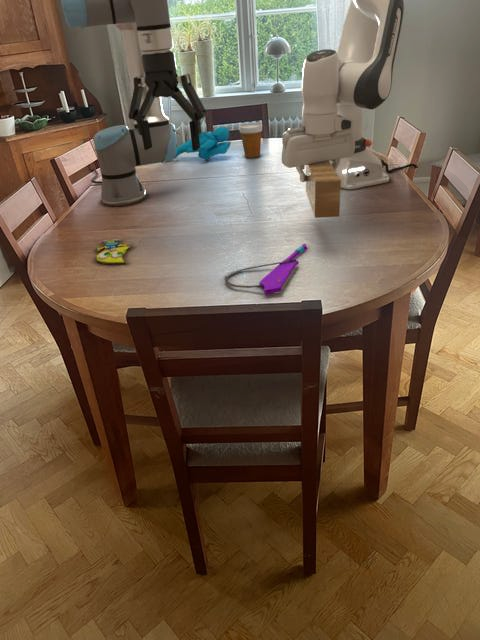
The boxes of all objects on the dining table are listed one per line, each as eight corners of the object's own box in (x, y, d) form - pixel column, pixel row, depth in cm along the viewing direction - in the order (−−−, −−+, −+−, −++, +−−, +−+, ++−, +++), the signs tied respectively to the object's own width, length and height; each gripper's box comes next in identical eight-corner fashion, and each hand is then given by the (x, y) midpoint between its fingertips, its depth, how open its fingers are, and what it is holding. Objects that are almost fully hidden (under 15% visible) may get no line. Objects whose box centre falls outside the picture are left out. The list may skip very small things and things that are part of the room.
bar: (305, 191, 133) (306, 159, 129) (326, 190, 133) (327, 158, 129) (314, 217, 114) (315, 181, 109) (339, 216, 113) (341, 180, 109)
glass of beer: (264, 157, 198) (262, 127, 191) (241, 159, 198) (238, 129, 192) (263, 152, 206) (261, 122, 199) (241, 153, 206) (239, 124, 200)
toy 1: (135, 237, 135) (125, 260, 122) (135, 240, 135) (125, 263, 123) (99, 239, 135) (85, 263, 122) (100, 242, 135) (86, 266, 123)
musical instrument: (224, 303, 104) (316, 286, 101) (222, 294, 103) (315, 277, 100) (230, 261, 125) (306, 246, 122) (228, 253, 124) (305, 239, 121)
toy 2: (168, 140, 212) (230, 120, 202) (177, 163, 217) (238, 145, 207) (155, 150, 198) (221, 129, 188) (165, 175, 203) (230, 156, 193)
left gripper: (101, 56, 109) (121, 151, 121) (200, 50, 101) (211, 153, 112) (120, 53, 115) (137, 144, 127) (214, 46, 107) (223, 145, 118)
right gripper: (288, 132, 116) (288, 188, 123) (360, 120, 122) (356, 174, 129) (276, 127, 121) (277, 182, 128) (346, 116, 127) (343, 169, 134)
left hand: (172, 149), depth 120 cm, fingers open, 13 cm apart
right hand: (317, 178), depth 129 cm, fingers closed on bar, 7 cm apart
